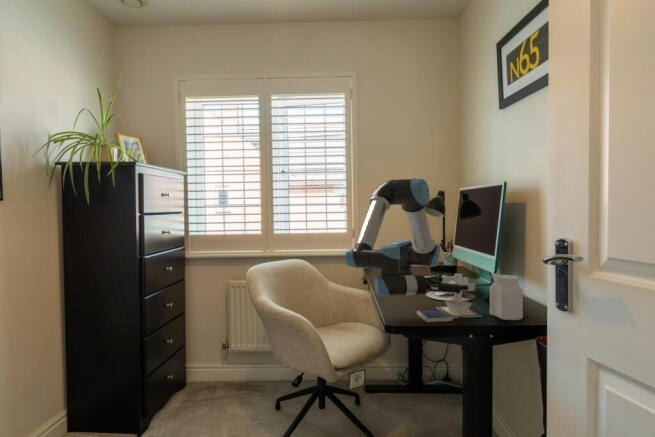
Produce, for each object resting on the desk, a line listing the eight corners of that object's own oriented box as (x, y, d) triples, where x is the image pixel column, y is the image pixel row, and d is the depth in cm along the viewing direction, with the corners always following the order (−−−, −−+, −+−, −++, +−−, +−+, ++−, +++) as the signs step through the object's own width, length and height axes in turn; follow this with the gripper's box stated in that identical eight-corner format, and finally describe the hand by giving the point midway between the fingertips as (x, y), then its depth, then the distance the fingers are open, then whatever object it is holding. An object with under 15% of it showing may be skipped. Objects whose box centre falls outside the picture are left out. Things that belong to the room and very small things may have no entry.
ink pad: (416, 313, 141) (416, 310, 140) (441, 312, 142) (441, 308, 142) (426, 322, 131) (426, 318, 131) (452, 320, 132) (452, 316, 132)
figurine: (456, 307, 148) (456, 271, 147) (474, 313, 139) (474, 275, 139) (442, 309, 145) (442, 272, 144) (459, 315, 136) (459, 277, 136)
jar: (484, 312, 142) (485, 274, 141) (504, 309, 144) (504, 273, 144) (507, 321, 131) (507, 280, 130) (528, 318, 133) (528, 278, 133)
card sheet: (436, 307, 149) (436, 306, 149) (463, 306, 150) (463, 305, 150) (451, 318, 135) (451, 316, 135) (481, 316, 136) (481, 315, 136)
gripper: (403, 287, 152) (451, 285, 155) (427, 303, 128) (482, 300, 130) (403, 269, 152) (451, 268, 155) (426, 282, 127) (482, 280, 130)
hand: (465, 282), depth 142 cm, fingers open, 13 cm apart
